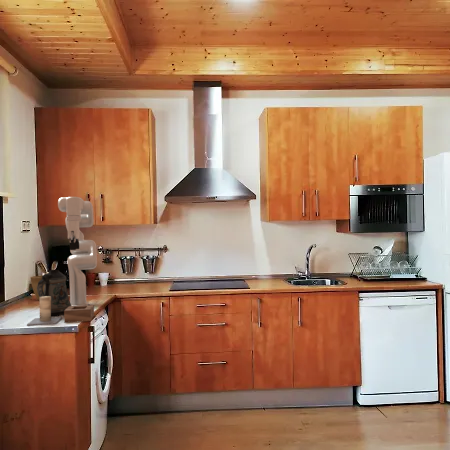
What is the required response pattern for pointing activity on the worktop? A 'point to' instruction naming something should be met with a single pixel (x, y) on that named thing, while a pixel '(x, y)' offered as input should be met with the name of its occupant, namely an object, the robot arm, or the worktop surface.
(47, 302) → the maple plug
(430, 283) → the worktop surface
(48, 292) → the beer stein
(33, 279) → the plant pot
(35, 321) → the slate mat
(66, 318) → the walnut holder
